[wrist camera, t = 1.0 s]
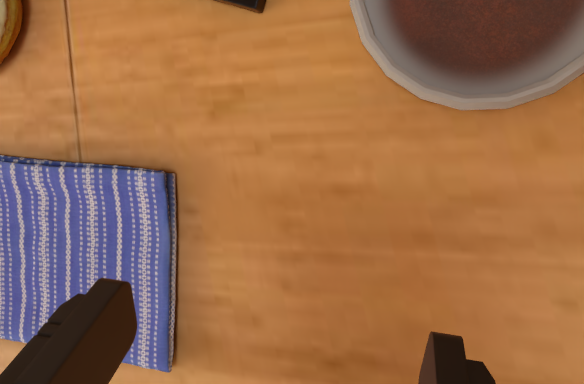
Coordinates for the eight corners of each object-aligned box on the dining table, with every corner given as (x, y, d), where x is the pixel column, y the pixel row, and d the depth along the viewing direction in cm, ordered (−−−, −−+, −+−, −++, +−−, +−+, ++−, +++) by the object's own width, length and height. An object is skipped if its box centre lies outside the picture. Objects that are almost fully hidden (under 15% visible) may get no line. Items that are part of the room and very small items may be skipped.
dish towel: (-45, 150, 46) (-75, 151, 44) (180, 165, 40) (161, 167, 37) (-37, 325, 49) (-65, 336, 46) (178, 367, 42) (160, 384, 39)
